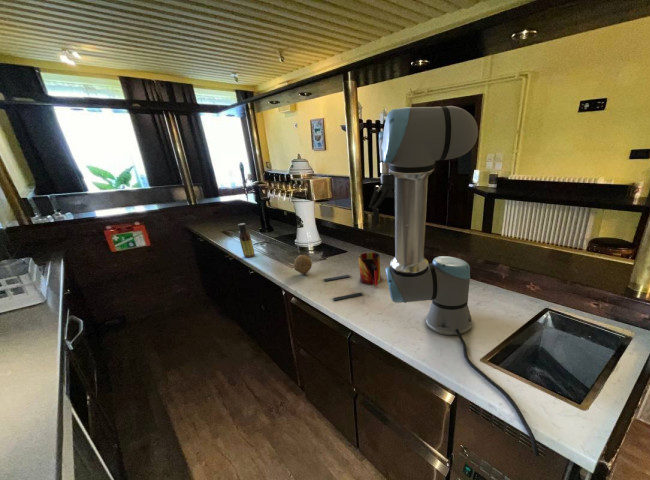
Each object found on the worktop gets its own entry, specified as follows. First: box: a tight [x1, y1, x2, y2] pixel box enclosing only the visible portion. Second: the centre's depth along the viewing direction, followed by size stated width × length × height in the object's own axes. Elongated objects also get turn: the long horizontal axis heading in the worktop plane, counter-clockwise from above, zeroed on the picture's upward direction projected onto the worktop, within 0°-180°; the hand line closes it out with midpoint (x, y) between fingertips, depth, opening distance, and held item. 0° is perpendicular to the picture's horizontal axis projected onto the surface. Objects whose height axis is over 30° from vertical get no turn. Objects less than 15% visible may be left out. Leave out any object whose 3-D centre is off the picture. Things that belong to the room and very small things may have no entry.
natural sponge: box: [293, 254, 313, 275], centre depth 150 cm, size 9×9×10 cm
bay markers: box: [323, 274, 363, 302], centre depth 136 cm, size 24×12×1 cm, turn 20°
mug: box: [357, 252, 382, 287], centre depth 137 cm, size 10×14×12 cm
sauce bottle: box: [237, 222, 256, 258], centre depth 178 cm, size 6×6×20 cm
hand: (391, 225), depth 131 cm, fingers open, 13 cm apart
